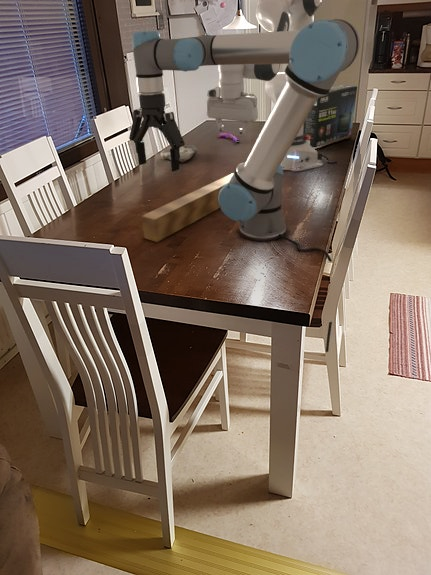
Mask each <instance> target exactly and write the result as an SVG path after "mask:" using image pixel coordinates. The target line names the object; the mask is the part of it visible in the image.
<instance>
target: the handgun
mask: <svg viewBox="0 0 431 575" xmlns="http://www.w3.org/2000/svg"><path fill="white" fill-rule="evenodd" d="M230 133H231V132H227V133H218V137H219V138H227V139H230V140H233V141H234V139H235V141H239V142H235V141H234V142H235V143H236V144H240V140H239V138H237V137H236V136H235V135H234V134H233V133H232V134H233V135H234V136H233V135H232V134H230ZM220 135H230V136H231V137H233V138H234V139H233V138H230V137H226V136H220Z"/></svg>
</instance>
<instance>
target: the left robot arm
mask: <svg viewBox="0 0 431 575" xmlns="http://www.w3.org/2000/svg"><path fill="white" fill-rule="evenodd" d="M131 40H132V54H133V60H134V69H135V78H136V89H137V93H139V94H138V96H137V97H138V106H139V108H137V109H134V110H133V120H132V123H131V127H130V132H129V136H128V138H129V141H133V143H134V145H135V153H136V154H137V161H138V165H139V166H142V165H145V164H147V154H146V146H145V142H144V138H145V136H146V134H147V132H148V130H149V129H150V128H153V129H157V130H159V131H160V132H161V133H162V135H163V137H164V138H165V140H166V142H168V145H169V146H170V147H171V148H169V151H170V157H171V160H170V168H171V169H170V170H171V172H176V171H178V170H180V161H179V159H180V150H179V149H180V147H182V146H184V145H186V143H185V141H184V139H183V135H182V134H181V131H180V129H179V127H178V124H177V122H176V119H175V114H174V112H173V111H169V112H166V111H165V107H166V94H165V93H164V91H165V84H164V71H177V72H179V71H181V72H184V73H185V72H191V71H194V72H195V71H197V70H199V68H200V67H206V66H218V65H246V64H280V65H286V66H285V69H284V72H283V73H285V76H286V80H287V81H286V83H285V85H284V87H283V89H282V91H281V93H280V95H279V97H278V99H277V101H276V103H275V105H274V104H273V106H272V109H271V111H270V113H269V115H268V116H267V118H266V121H265V123H264V125H263V126H262V129H261V130H260V132H259V135H258V136H257V138H256V141H255V142H254V144H253V146H252V149H251V151H250V152H249V154H248V156H247V158H246V160H245V162H241V163H239V164H238V165H237V166H236V168H235V170H234V172H233V173H234V174H233V176H232V178H231V180H230V181H229V183H228V184H225V185H224V186H223V187H222V189H221V190H220V192H219V196H218V202H219V205H220V207H221V208H220V210H221V212H222V213H223V215H225V216H226V217H227V218H228V219H229V220H231V221H234V222H236V223H239V225H238V232H239V235H240V236H241V237H242V238H244V239H247V240H250V241H254V242H271V241H277V240H279V239H283V240H285V241H287V242H289V243H291V244H293V245H295V246H296V249H297V251H299V252H301V253H307V252H310V251H316V252H321V253H323V254H324V256H325V257H326V258H327V260H328V262H330V263H331V262H333V260H332V258H331V256H330V254H329V252H327V250H325V249H323V248H319V247H314V246H313V247H308V248H301V245H300V243H298V242H297V241H295V240H293V239H291V238H290V237H287V236H286V234H287V223H286V221H285V216H284V214H283V210H282V200H283V183H284V170H283V166H282V164H281V162H282V160H283V159H284V157H285V155H286V153H287V152H288V150H289V148H290V146H291V145H292V143H293V141H294V139H295V138H296V136H297V134H298V132H299V131H300V129H301V127H302V125H303V123H304V122H305V120H306V118H307V116H308V115H309V113H310V111H311V109H312V108H313V106H314V104H315V102H316V101H317V99H318V98H320V97H323V96H326V95H327V94H328V92H329V91H330V89H331V87H333V86H334V84H335V82H336V80H337V79H338V77H339V75H340V74H341V73H342V72H344V71H346V70H347V69H348V68H350V67H351V66H352V64H353V63H354V62H355V61H356V59H357V57H358V54H359V52H360V51H359V50H360V46H361V45H360V43H361V42H360V36H359V33H358V31H357V29H356V27H355V26H354V25H353V24H352V23H350V22H349V21H348V20H345V19H342V18H334V19H319V20H315V21H314V22H312V23H311V24H309V25H307V26H306V27H304V28H303V29H302V30H298V31H280V32H270V31H266V32H247V33H229V34H217V35H216V34H213V35H212V34H202V35H198V36H191V37H189V36H188V37H181V38H180V37H179V38H165V39H164V38H161V35H160V32H159V31H158V30H137V31H134V32H133V33H132V35H131ZM332 325H333V321H329V322H328V328H327V335H326V343H325V352H326V353H328V352H329V351H330V350H329V349H330V348H329V347H330V340H331V338H330V337H331V331H332Z"/></svg>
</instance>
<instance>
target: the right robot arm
mask: <svg viewBox="0 0 431 575" xmlns="http://www.w3.org/2000/svg"><path fill="white" fill-rule="evenodd" d="M322 1H323V0H258V1H257V4H256V7H255V18H256V20H257V22H258V24H259V25H260V26H261V28H262V29H264V30H266V31H267V32H280V31H298V30H302V29H303V28H304V27H306V26H307V25H309V24H311V23H312V22H315V21H314V14H316V12H317V11H318V9H319V8H320V6H321V5H322ZM280 67H281V64H246V65H217V71H218V75H219V78H218V86H215V87H213V88H211V89H208V90H207V91H206V96H207V99H206V103H205V106H206V109H205V110H206V115H207V118H209V119H214V120H215V123H216V125H217V127H218V130H217V131H218V132H225V125H223V124H222V121H223V120H228V121H236V122H241V124H242V127H241V128H239V135H246V133H247V128H248V126H249V124H250V123H254V122H256V121H257V120H258V117H259V110H258V97H257V96H256V95H255V94H254V93H253V92H245V80H244V79H247V80H259V81H264V82H265V85H264V87H265V88H264V90H265V93H266V95H267V97H269V99H270V100H271V101H272V103H273V106H274V105H275V103H276V101H277V99H278V97H279V95H280V93H281V91H282V89H283V87H284V85H285V83H286V81H287V80H286V76H285V72H279V71H280V69H281V68H280ZM303 127H304V123H303V125H302V127H301V129H300V131H299V132H298V134H297V136H296V138H295V139H294V141H293V143H292V145H291V146H290V148H289V150H288V152H287V153H286V155H285V157H284V159H283V160H282V162H281V164H282V166H283V167H284V168H283V171H292V172H301V171H306V170H311V169H314V168H320V167H323V166H324V165H323V164H324V163H323V161H322V160H323V158H325V159H326V163H327V164H328V165H329V164H330V165H333V164H337V163H338V161H336V160H335V161H332V162H331V161H329V157H328V156H327V155H324V154H323V152H322V151H320V150H317V149H316V150H315V149H314V148H313V147H311V146H310V145H309V144H308V143H307V142H306V140H310V136H309V135H305V134H303ZM318 160H320V161H322V162H319V163H323V164H321V165H316V166H312V167H307V168H302V169H300V168H298V167H300V166H304V165H309V164H313V163H317V162H318ZM327 160H328V161H329V162H327ZM296 167H297V169H296ZM290 168H293V169H290Z"/></svg>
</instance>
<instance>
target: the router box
mask: <svg viewBox="0 0 431 575" xmlns="http://www.w3.org/2000/svg"><path fill="white" fill-rule="evenodd" d="M357 93H358V86H356V85H350V84H339V85H338V84H337V85H333V86H332V87H331V89H330V91H329V92H328V94H327V95H326V96H323V97H320V98H318V99H317V101H316V102H315V104H314V106H313V108H312V109H311V111H310V113H309V115H308V116H307V118H306V120H305V122H304V127H303V134H305V135H309V136H310V140H306V142H307V143H308V144H309V145H310V146H311V147H317V146H320V145H323V144H325V143H328V142H331V141H333V140H336V139H338V138H341V137H344V136H347V135H351V136H352V133H353V132H352V131H353V125H354V115H355V109H356V99H357Z"/></svg>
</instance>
